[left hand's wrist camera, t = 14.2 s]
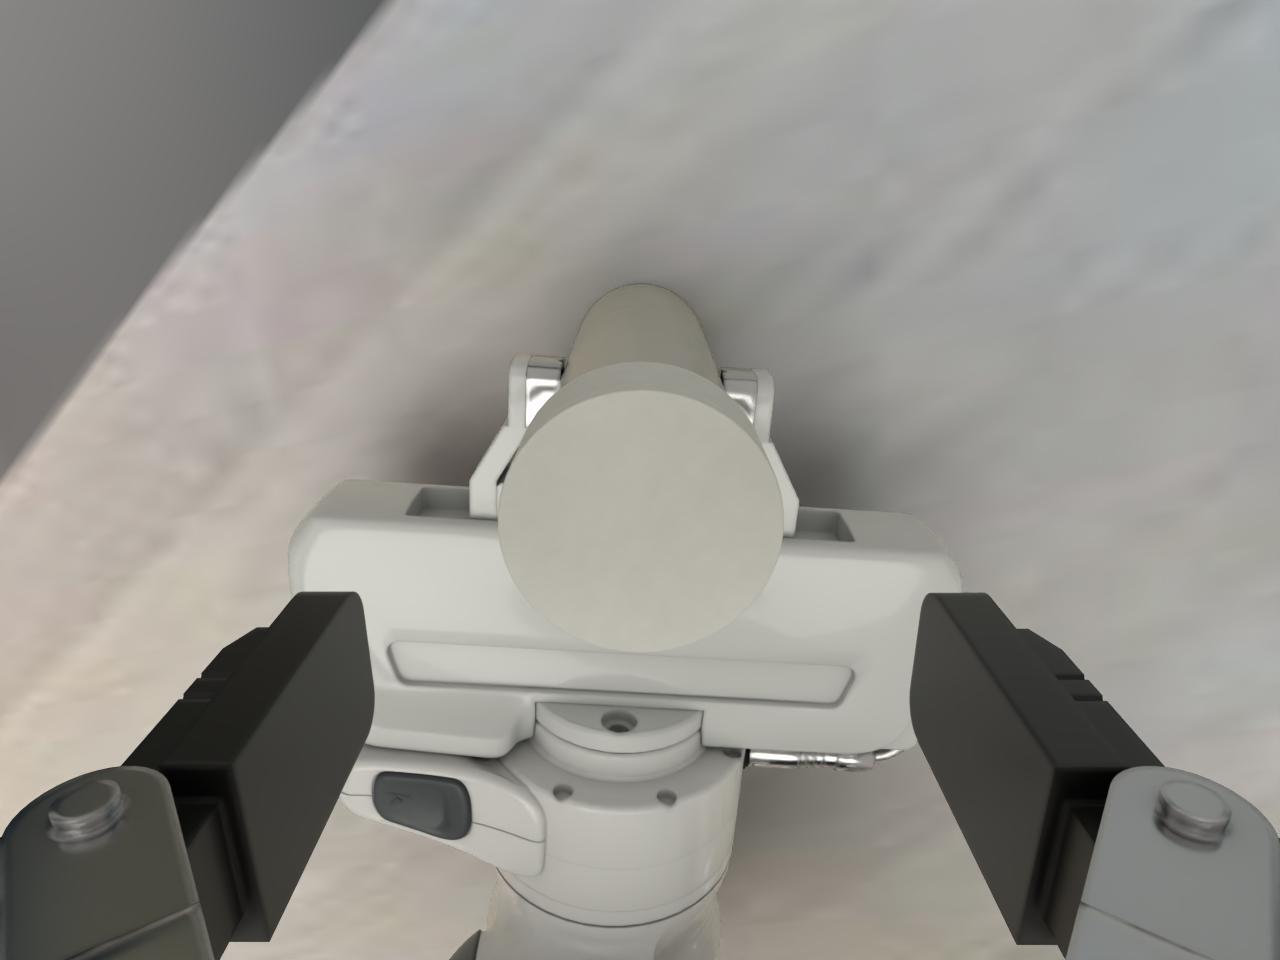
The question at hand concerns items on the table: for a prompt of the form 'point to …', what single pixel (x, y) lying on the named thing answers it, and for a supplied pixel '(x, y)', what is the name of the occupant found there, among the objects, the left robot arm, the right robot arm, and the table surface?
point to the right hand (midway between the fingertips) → (641, 365)
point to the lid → (640, 509)
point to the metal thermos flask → (640, 334)
